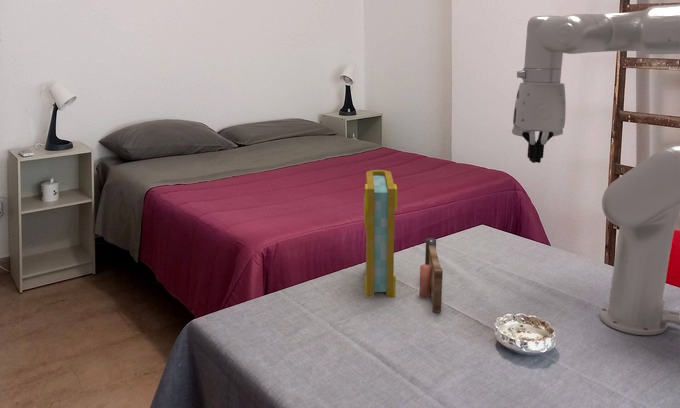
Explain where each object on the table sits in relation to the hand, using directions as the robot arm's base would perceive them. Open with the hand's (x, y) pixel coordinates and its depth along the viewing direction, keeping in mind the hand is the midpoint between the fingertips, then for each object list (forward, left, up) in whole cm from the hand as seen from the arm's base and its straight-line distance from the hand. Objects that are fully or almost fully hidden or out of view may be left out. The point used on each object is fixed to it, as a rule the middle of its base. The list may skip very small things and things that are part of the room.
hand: (534, 161), depth 135 cm
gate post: (+20, +9, -29) cm, 36 cm away
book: (+30, +16, -29) cm, 45 cm away
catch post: (+18, +18, -29) cm, 38 cm away
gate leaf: (+15, +17, -29) cm, 37 cm away
